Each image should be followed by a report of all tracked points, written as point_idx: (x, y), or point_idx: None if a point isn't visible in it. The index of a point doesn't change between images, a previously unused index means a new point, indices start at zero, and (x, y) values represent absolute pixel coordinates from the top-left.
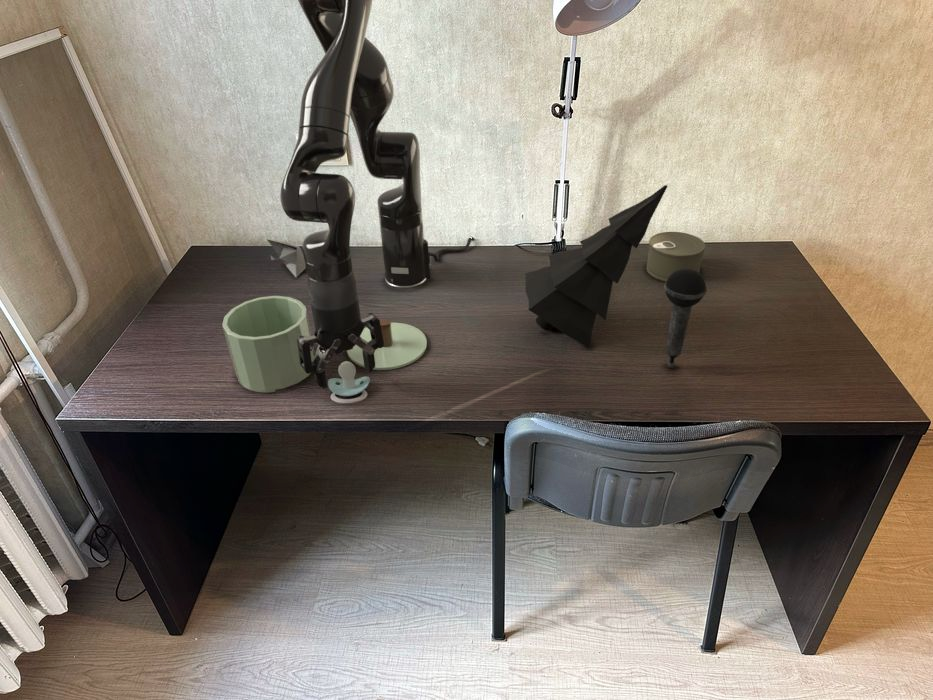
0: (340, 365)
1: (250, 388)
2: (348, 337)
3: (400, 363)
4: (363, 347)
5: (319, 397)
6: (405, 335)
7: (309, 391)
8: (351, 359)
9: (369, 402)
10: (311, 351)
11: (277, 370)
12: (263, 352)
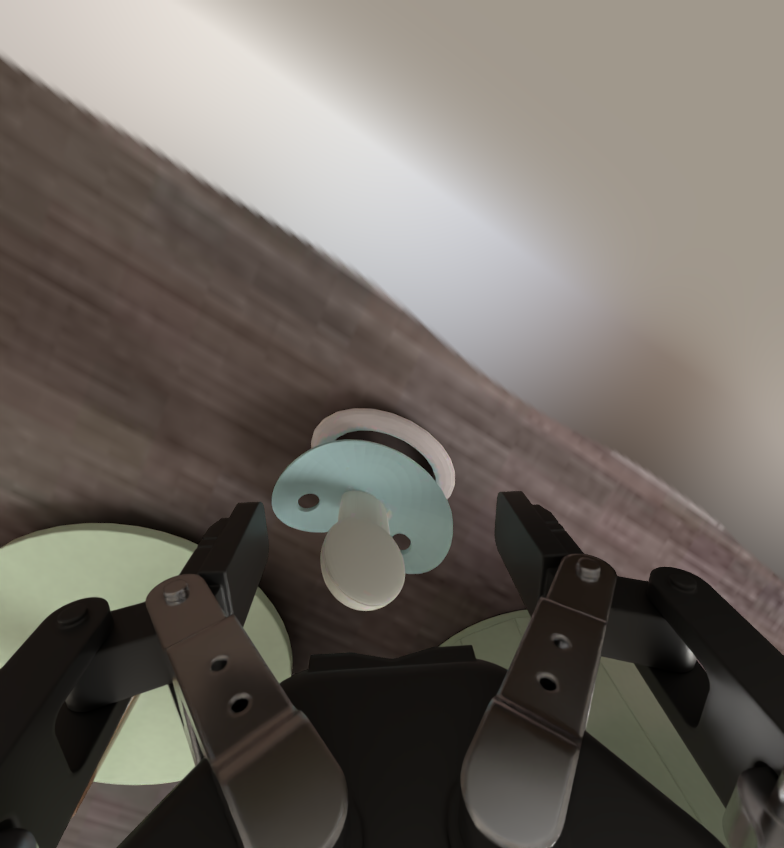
0: (391, 596)
1: None
2: (344, 823)
3: (101, 539)
4: (219, 632)
5: (479, 518)
6: None
7: (493, 564)
8: (289, 650)
9: (322, 390)
10: None
11: (621, 692)
12: None
